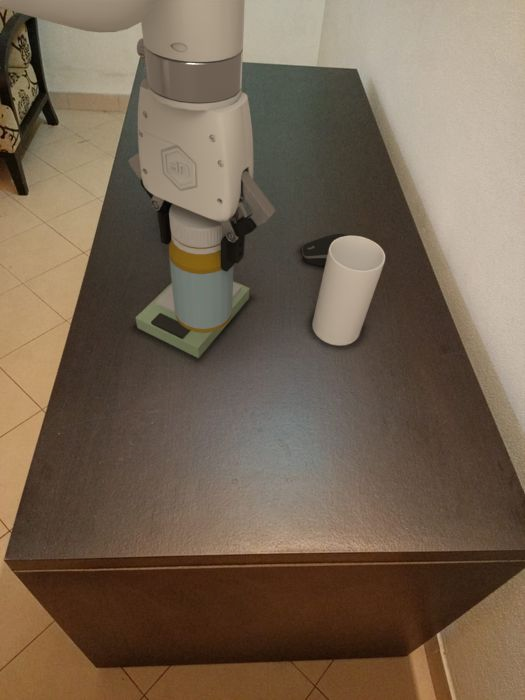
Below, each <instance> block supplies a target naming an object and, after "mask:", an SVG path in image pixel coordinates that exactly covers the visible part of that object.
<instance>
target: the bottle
mask: <svg viewBox="0 0 525 700" xmlns="http://www.w3.org/2000/svg"><path fill="white" fill-rule="evenodd" d="M169 218H170V228H171V237H172V239H171V242H170V243H169V244H168V259H169V267H170V268H169V269H170V279H171V283H172V289H173V299H174V309H175V315H176V318H177V320H178V322H179V323H180V324H181V325H182V326H184V327H185V328H187V329H189V330H192V331H195V332H200V333H207V332H213V331H215V330H218V329H220V328H222V327H223V326H224V325H226V324H227V323H228V321H229V320H230V318H231V314H232V299H233V281H234V268H235V267H234V265H235V264H234V265H233V266H232V267H231V268H230V269H229V270H228V271H227V272H226V271H224V270H222V268H221V239H222V238H223V237H224V236H225V233H224V231H223V228H222V226H221V224H220V221H215V220H212V219H209V218H207V217H204V216H202V215H199V214H197V213H194V212H192V211H190V210H187V209H185V208H182V207H180V206H178V205H175V204H172V205H171V207H170V212H169ZM230 321H231V320H230ZM228 324H229V323H228ZM228 324H227V325H228ZM227 325H226V326H227Z"/></svg>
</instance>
